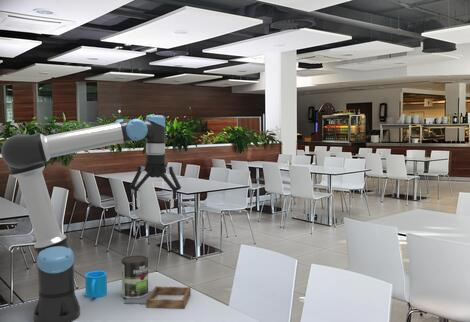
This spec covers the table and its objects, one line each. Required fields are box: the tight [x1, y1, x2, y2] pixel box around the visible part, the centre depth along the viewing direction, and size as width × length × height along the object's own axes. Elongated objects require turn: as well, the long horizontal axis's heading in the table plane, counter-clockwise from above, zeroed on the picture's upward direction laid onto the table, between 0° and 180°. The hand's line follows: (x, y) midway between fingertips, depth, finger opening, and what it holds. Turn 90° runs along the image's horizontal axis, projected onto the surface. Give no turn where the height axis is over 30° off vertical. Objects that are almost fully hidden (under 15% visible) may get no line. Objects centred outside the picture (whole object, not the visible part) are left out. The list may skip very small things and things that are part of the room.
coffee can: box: [121, 255, 149, 299], centre depth 180 cm, size 10×10×14 cm
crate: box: [145, 286, 191, 310], centre depth 174 cm, size 14×14×3 cm
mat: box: [123, 290, 153, 305], centre depth 177 cm, size 9×12×1 cm
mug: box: [84, 270, 108, 299], centre depth 179 cm, size 12×8×8 cm
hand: (155, 207), depth 183 cm, fingers open, 13 cm apart
